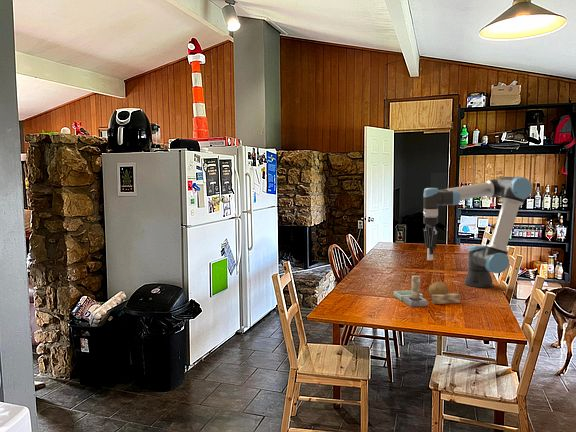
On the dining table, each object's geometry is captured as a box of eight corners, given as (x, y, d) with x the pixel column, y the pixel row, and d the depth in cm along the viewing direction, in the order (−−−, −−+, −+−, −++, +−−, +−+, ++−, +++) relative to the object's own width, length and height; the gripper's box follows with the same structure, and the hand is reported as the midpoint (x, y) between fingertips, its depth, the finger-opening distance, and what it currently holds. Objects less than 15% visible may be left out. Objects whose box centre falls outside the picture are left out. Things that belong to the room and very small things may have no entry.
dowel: (417, 302, 232) (417, 275, 230) (420, 304, 228) (421, 277, 226) (409, 302, 231) (410, 275, 230) (413, 304, 227) (413, 277, 226)
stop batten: (456, 300, 234) (457, 293, 233) (460, 302, 231) (460, 294, 230) (431, 302, 231) (431, 294, 231) (434, 304, 228) (434, 296, 228)
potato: (426, 300, 234) (427, 285, 233) (430, 294, 247) (430, 279, 246) (446, 303, 230) (447, 287, 229) (449, 296, 243) (449, 281, 242)
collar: (419, 300, 234) (419, 295, 234) (427, 305, 226) (427, 300, 225) (403, 301, 233) (403, 296, 233) (410, 306, 224) (410, 301, 224)
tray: (414, 294, 246) (414, 290, 246) (422, 299, 236) (422, 294, 236) (393, 295, 244) (393, 291, 244) (401, 300, 234) (401, 296, 234)
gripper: (418, 215, 250) (418, 258, 253) (429, 218, 238) (429, 262, 240) (431, 215, 252) (431, 257, 254) (443, 217, 239) (442, 261, 241)
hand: (430, 259), depth 247 cm, fingers closed
